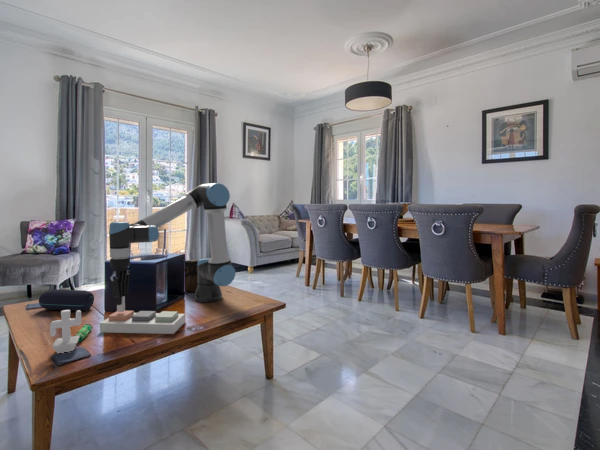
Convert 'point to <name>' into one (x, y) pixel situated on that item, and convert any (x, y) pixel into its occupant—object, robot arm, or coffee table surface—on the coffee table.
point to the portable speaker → (66, 300)
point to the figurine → (65, 332)
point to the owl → (191, 276)
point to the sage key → (166, 316)
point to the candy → (84, 331)
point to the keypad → (142, 326)
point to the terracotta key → (121, 316)
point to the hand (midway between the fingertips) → (121, 311)
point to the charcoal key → (144, 316)
